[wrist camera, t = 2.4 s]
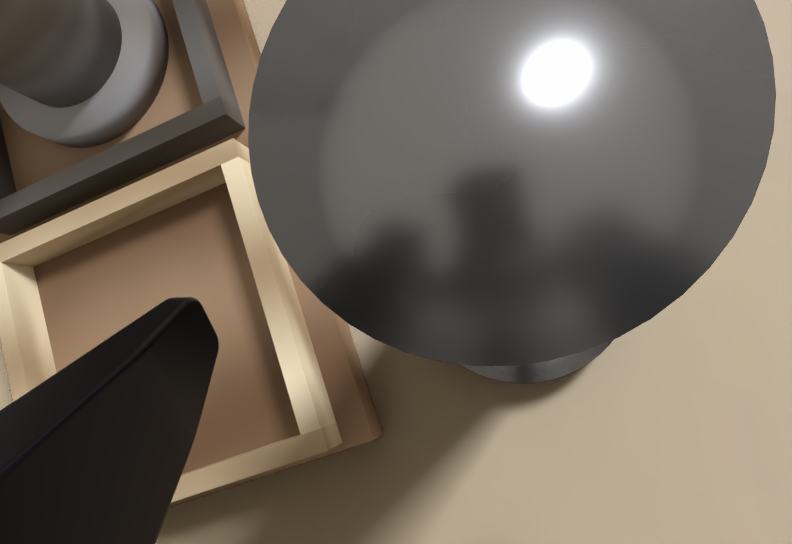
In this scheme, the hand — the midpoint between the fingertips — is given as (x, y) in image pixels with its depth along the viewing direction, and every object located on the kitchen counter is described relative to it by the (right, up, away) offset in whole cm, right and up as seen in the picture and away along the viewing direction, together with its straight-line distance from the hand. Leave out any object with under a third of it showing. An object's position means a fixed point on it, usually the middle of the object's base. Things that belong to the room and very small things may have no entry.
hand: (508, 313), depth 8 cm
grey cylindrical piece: (+2, 0, +9) cm, 9 cm away
